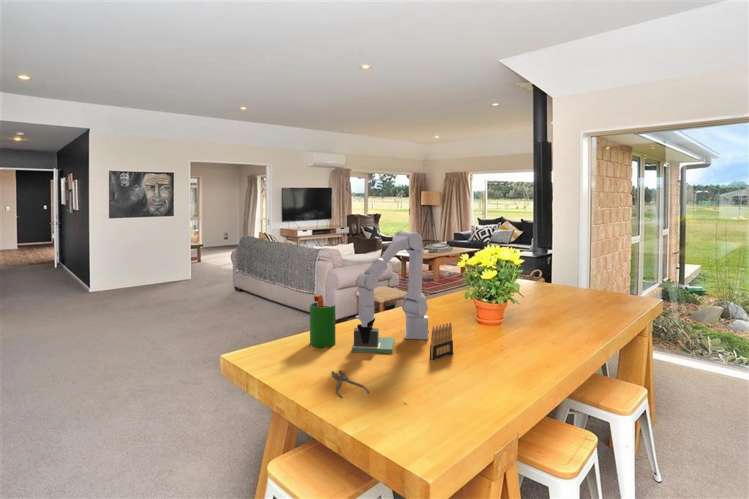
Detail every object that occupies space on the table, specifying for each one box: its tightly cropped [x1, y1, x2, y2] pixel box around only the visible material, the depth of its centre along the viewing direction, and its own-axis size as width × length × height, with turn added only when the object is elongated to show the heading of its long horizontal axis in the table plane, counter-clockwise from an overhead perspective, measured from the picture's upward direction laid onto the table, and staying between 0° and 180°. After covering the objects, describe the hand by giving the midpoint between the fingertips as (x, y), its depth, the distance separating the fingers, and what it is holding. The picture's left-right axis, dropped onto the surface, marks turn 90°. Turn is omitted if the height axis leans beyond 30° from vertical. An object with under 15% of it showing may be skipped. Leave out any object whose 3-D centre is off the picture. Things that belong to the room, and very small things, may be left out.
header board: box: [351, 336, 395, 354], centre depth 177 cm, size 15×14×4 cm
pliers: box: [331, 369, 370, 399], centre depth 143 cm, size 10×1×20 cm
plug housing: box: [353, 327, 380, 347], centre depth 174 cm, size 9×4×6 cm, turn 85°
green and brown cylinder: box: [309, 294, 336, 349], centre depth 179 cm, size 10×9×20 cm
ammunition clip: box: [429, 321, 454, 361], centre depth 166 cm, size 11×2×12 cm, turn 129°
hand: (366, 340), depth 174 cm, fingers open, 7 cm apart
